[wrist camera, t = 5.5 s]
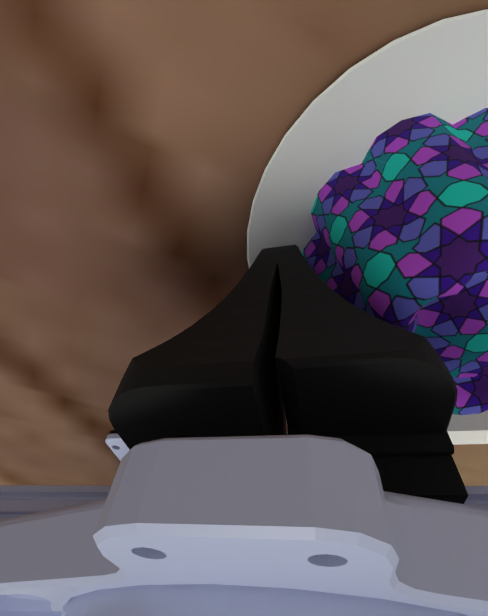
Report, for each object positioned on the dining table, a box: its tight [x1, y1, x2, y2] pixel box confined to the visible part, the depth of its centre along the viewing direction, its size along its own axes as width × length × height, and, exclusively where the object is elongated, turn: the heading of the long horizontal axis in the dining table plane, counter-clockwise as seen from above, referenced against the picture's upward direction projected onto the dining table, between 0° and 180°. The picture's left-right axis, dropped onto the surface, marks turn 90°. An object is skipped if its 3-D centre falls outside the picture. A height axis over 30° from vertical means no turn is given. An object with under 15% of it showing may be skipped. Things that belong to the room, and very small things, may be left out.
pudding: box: [247, 9, 488, 415], centre depth 9 cm, size 12×12×5 cm
